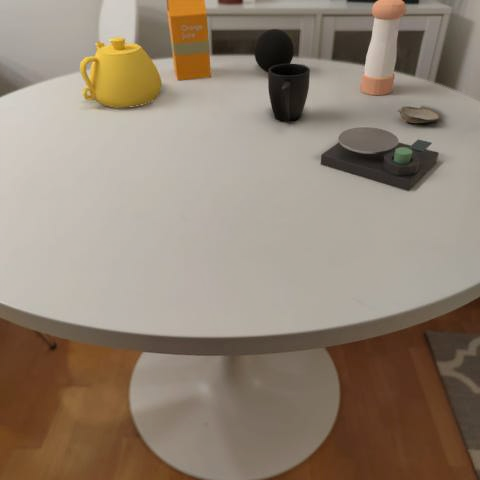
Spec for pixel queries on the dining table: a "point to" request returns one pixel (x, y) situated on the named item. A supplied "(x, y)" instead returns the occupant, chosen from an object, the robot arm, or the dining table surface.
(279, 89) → the mug
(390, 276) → the dining table surface
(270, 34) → the decorative ball
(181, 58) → the orange juice
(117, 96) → the teapot
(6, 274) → the dining table surface
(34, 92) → the dining table surface
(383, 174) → the scale
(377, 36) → the salt shaker
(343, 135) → the scale pan
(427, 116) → the seashell
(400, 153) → the tare button
